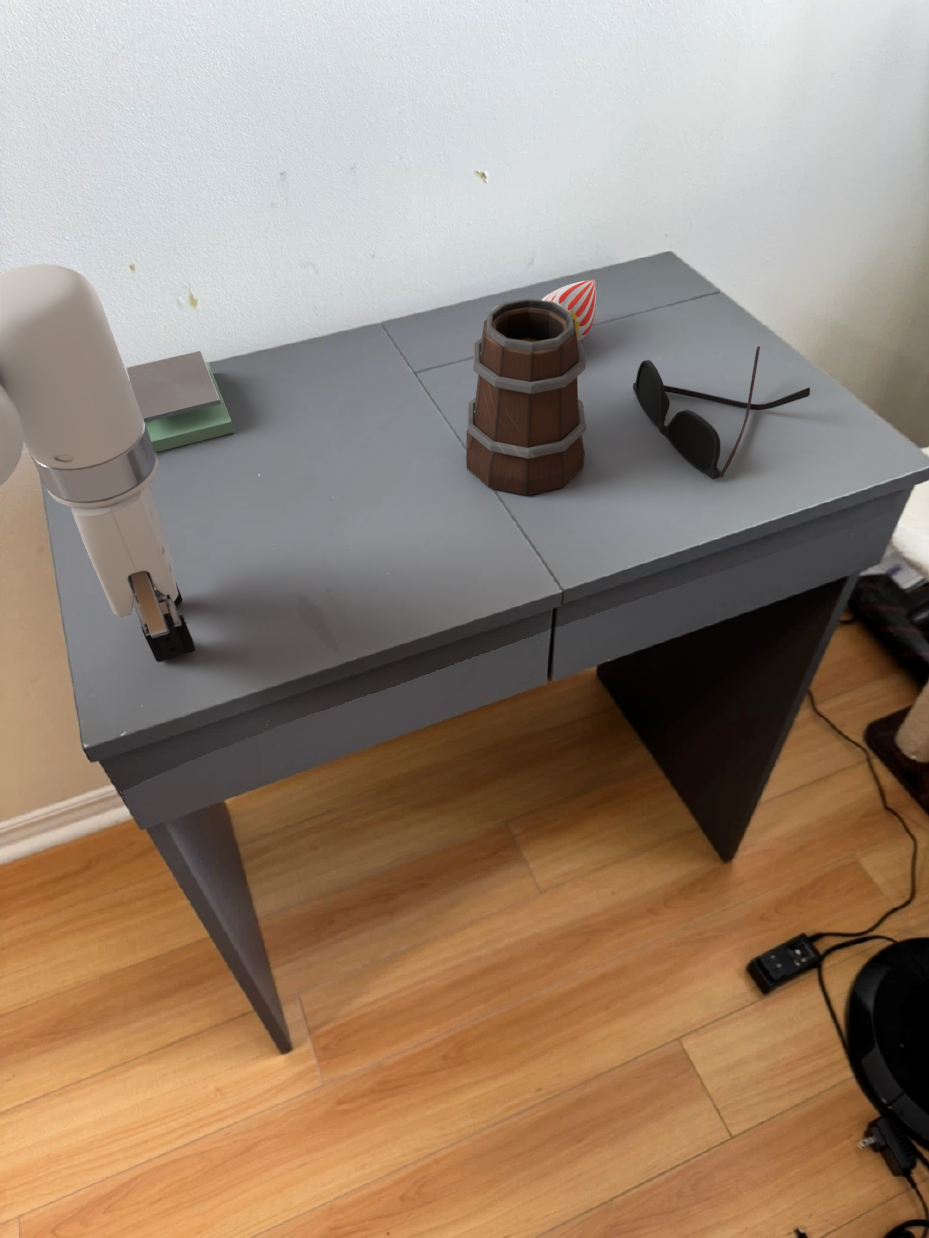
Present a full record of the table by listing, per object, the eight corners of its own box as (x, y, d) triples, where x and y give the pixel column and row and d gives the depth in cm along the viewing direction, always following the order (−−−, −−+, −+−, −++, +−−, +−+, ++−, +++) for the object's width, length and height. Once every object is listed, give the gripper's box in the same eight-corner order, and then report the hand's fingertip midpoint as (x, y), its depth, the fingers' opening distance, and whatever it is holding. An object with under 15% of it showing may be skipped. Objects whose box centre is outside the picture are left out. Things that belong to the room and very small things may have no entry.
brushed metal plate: (142, 423, 88) (140, 418, 87) (127, 372, 94) (126, 367, 93) (221, 404, 89) (219, 399, 89) (202, 355, 96) (200, 350, 95)
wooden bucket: (602, 479, 85) (619, 341, 74) (484, 506, 83) (483, 368, 71) (544, 391, 95) (551, 257, 83) (438, 413, 93) (430, 279, 81)
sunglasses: (829, 452, 87) (844, 409, 83) (701, 486, 84) (711, 444, 80) (738, 364, 97) (748, 323, 94) (621, 392, 94) (627, 351, 91)
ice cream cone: (497, 421, 99) (588, 308, 105) (534, 415, 93) (627, 296, 100) (465, 378, 95) (561, 264, 102) (502, 369, 90) (600, 250, 97)
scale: (93, 468, 88) (82, 444, 86) (79, 404, 95) (69, 380, 93) (234, 432, 91) (228, 408, 89) (211, 373, 99) (204, 349, 96)
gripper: (29, 402, 64) (111, 575, 77) (50, 552, 53) (140, 722, 67) (133, 378, 65) (195, 551, 79) (173, 518, 55) (236, 690, 69)
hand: (169, 628), depth 73 cm, fingers closed on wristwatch, 5 cm apart
